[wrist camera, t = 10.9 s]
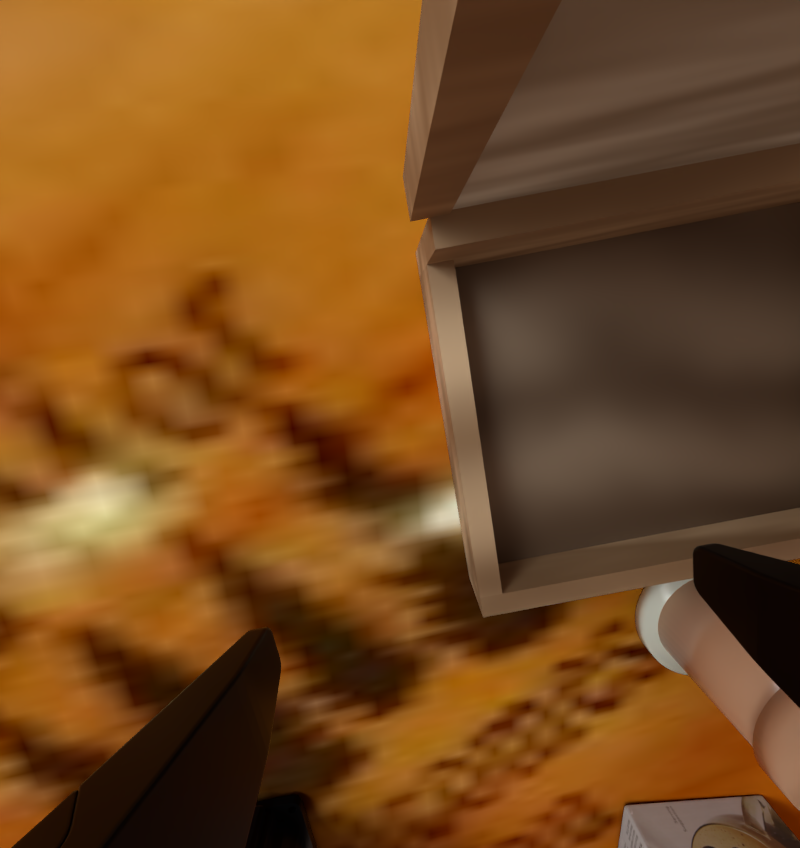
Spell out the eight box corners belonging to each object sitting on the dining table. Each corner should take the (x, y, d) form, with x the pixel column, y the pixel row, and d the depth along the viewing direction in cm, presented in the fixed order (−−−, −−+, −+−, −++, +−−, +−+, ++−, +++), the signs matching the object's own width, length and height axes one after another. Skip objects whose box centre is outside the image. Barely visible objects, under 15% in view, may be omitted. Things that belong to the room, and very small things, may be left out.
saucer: (761, 651, 22) (775, 662, 21) (638, 674, 22) (647, 686, 21) (763, 539, 21) (778, 547, 20) (631, 564, 21) (641, 573, 20)
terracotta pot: (764, 657, 21) (943, 808, 14) (654, 677, 21) (781, 837, 14) (766, 558, 20) (964, 673, 13) (649, 580, 20) (786, 706, 13)
